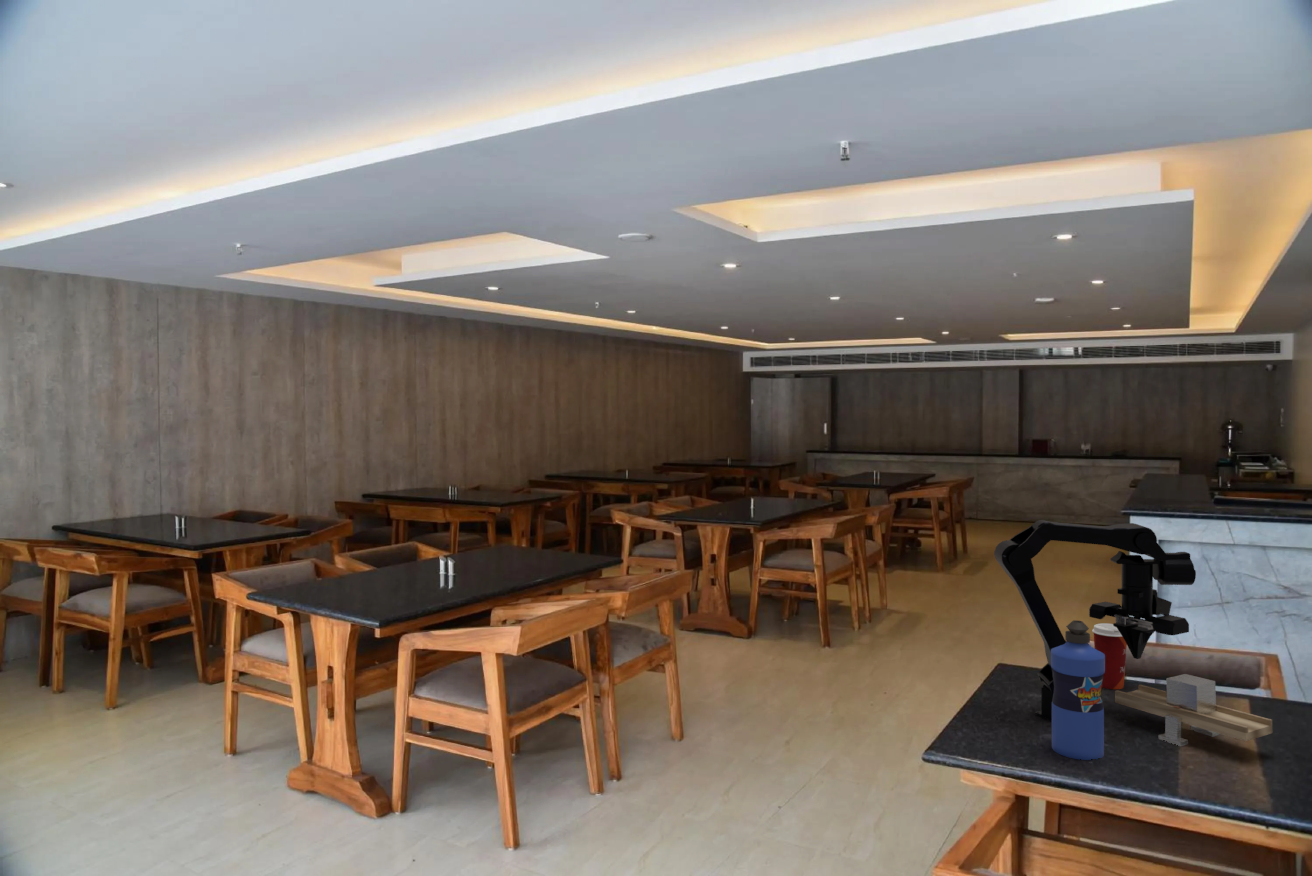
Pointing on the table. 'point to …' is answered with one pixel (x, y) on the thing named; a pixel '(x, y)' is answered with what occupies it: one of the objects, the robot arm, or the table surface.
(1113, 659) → the paper cup
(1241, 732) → the oak beam
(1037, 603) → the robot arm
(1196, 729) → the pivot stand
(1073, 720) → the water bottle
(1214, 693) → the metal block
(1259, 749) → the table surface
